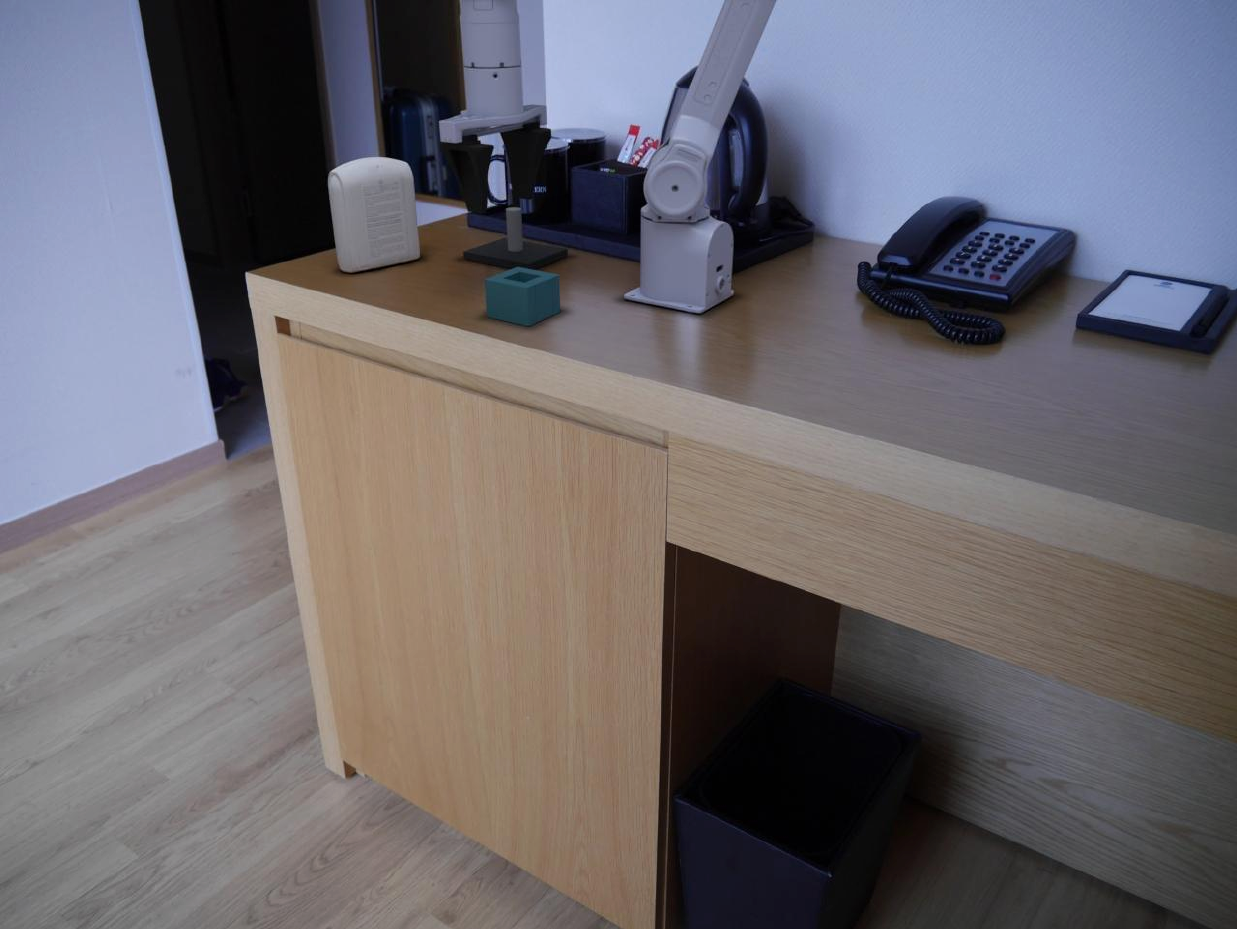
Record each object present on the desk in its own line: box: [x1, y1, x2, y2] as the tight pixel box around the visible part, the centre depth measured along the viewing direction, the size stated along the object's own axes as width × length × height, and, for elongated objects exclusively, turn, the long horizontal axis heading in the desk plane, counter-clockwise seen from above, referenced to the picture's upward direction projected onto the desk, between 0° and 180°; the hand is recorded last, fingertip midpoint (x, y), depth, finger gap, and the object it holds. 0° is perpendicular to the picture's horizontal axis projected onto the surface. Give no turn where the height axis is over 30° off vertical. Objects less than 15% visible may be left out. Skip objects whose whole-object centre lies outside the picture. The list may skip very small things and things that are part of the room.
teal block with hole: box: [484, 267, 561, 327], centre depth 98 cm, size 5×5×4 cm
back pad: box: [462, 206, 569, 270], centre depth 117 cm, size 10×8×6 cm
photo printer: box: [327, 156, 421, 274], centre depth 113 cm, size 10×4×12 cm, turn 134°
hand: (500, 204), depth 101 cm, fingers open, 7 cm apart
